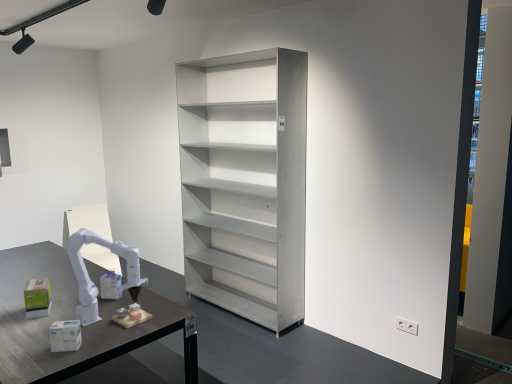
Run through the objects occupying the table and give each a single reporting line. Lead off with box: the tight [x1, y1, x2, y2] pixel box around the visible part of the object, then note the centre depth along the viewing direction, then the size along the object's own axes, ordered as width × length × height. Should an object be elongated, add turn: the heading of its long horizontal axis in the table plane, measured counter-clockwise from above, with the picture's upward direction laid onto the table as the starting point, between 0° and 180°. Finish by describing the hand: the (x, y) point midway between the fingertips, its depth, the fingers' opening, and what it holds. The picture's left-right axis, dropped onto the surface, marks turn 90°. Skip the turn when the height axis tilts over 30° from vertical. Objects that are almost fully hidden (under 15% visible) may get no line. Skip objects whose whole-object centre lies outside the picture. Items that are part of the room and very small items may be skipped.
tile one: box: [129, 311, 142, 320], centre depth 200 cm, size 4×4×2 cm
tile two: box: [128, 302, 142, 312], centre depth 206 cm, size 4×4×3 cm
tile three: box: [115, 307, 129, 318], centre depth 201 cm, size 4×4×3 cm
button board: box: [111, 309, 153, 329], centre depth 202 cm, size 14×13×2 cm
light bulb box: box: [48, 319, 82, 353], centre depth 175 cm, size 11×7×11 cm, turn 99°
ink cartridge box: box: [99, 270, 123, 300], centre depth 226 cm, size 10×6×14 cm, turn 82°
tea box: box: [23, 277, 52, 320], centre depth 209 cm, size 15×10×15 cm, turn 21°
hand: (134, 300), depth 201 cm, fingers closed
